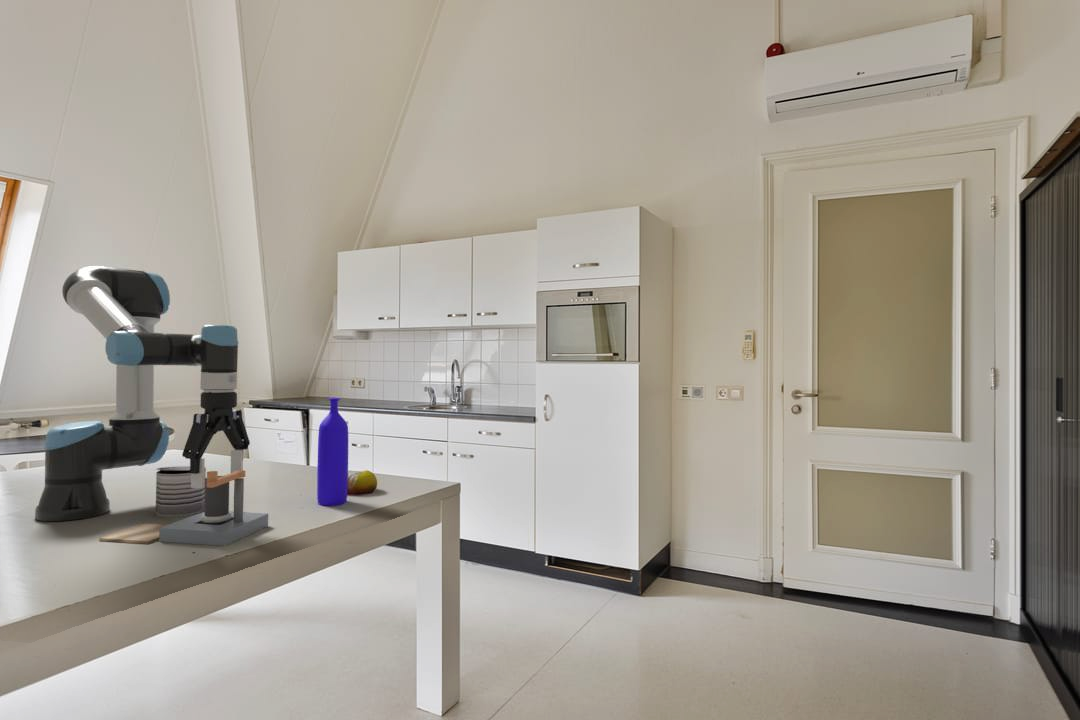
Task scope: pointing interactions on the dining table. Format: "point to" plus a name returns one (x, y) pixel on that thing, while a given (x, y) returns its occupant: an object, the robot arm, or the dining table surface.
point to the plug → (216, 505)
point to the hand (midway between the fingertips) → (218, 482)
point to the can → (178, 492)
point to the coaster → (136, 534)
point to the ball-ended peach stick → (222, 478)
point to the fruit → (361, 483)
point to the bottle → (332, 458)
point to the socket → (210, 534)
